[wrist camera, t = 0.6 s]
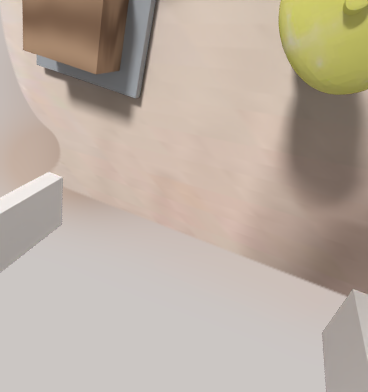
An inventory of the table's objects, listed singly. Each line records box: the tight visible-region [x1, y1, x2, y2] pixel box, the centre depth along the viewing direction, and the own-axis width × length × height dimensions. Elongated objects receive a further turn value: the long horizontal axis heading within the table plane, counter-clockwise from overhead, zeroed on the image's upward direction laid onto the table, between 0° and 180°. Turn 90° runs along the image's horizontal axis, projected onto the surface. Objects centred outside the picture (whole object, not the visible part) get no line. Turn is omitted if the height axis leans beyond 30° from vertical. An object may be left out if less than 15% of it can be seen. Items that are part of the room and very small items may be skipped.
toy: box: [279, 0, 368, 95], centre depth 23 cm, size 8×9×15 cm
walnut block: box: [22, 0, 129, 74], centre depth 33 cm, size 9×9×5 cm
